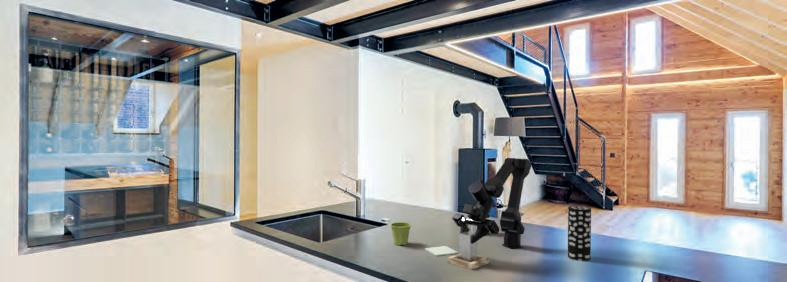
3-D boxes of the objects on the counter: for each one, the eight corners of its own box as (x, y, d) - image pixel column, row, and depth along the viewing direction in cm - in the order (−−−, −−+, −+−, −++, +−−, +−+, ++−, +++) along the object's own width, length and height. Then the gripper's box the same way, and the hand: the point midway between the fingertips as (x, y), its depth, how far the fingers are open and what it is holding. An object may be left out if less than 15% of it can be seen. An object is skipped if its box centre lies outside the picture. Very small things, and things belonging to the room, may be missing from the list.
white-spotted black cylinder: (588, 255, 162) (589, 206, 161) (591, 262, 154) (592, 210, 153) (566, 253, 164) (567, 205, 164) (568, 259, 156) (569, 209, 156)
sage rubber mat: (445, 247, 173) (445, 245, 173) (457, 253, 164) (457, 252, 164) (424, 249, 169) (425, 248, 169) (436, 256, 160) (436, 254, 160)
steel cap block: (466, 256, 155) (466, 231, 155) (476, 259, 151) (477, 233, 151) (459, 259, 152) (459, 233, 152) (470, 262, 148) (470, 235, 148)
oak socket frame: (464, 256, 159) (464, 251, 159) (488, 263, 151) (488, 257, 151) (447, 262, 152) (447, 257, 152) (471, 269, 144) (471, 264, 144)
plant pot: (403, 247, 171) (403, 227, 171) (385, 244, 177) (386, 224, 177) (415, 243, 179) (415, 224, 179) (398, 239, 184) (398, 221, 184)
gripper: (455, 193, 161) (437, 225, 153) (495, 199, 147) (478, 233, 140) (466, 210, 166) (449, 241, 159) (506, 217, 153) (490, 251, 145)
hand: (465, 241), depth 151 cm, fingers closed on steel cap block, 5 cm apart
